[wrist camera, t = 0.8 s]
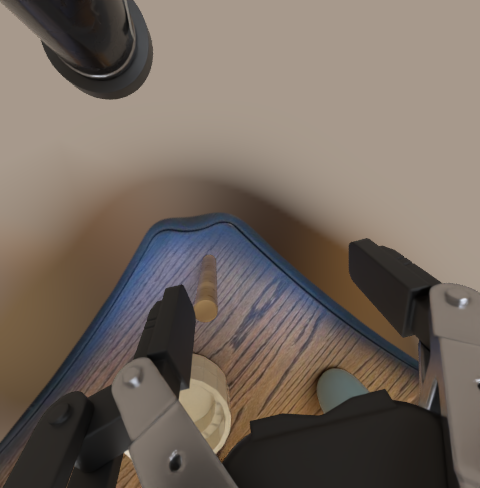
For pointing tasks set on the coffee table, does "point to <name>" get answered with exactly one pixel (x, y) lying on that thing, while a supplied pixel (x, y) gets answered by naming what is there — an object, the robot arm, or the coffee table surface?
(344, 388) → the cup
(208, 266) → the stick
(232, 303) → the coffee table surface
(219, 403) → the bowl
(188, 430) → the robot arm
